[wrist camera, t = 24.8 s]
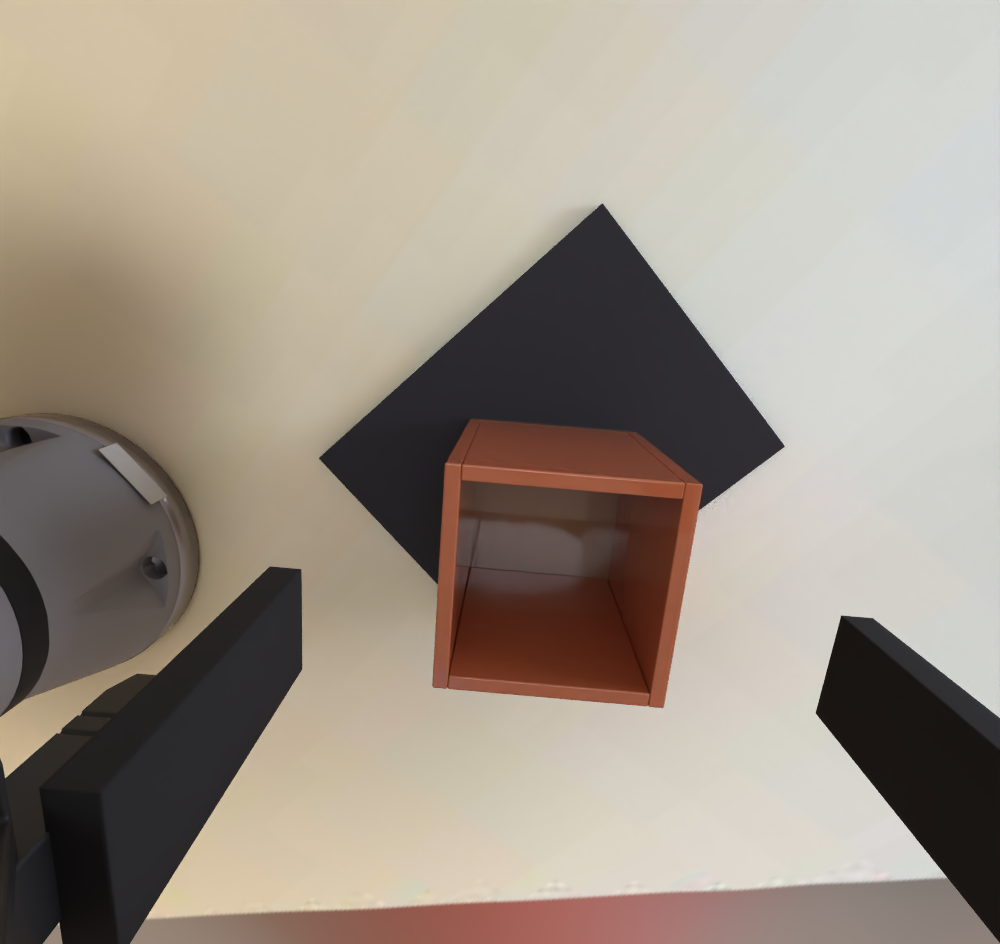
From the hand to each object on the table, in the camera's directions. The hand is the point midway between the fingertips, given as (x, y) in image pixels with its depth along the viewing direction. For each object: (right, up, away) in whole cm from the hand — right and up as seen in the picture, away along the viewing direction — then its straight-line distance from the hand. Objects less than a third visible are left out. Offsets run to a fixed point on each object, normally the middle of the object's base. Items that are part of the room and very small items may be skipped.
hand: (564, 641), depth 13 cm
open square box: (0, -3, +13) cm, 14 cm away
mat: (+1, +5, +17) cm, 18 cm away
